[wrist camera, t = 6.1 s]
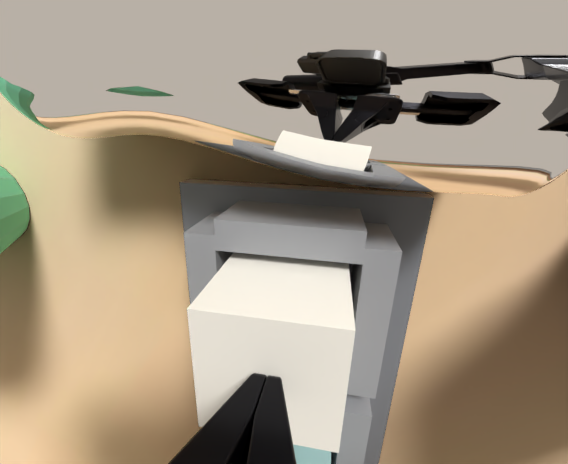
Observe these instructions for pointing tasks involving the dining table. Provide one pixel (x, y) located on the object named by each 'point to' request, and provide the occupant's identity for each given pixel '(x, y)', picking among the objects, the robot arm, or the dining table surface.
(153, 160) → the dining table surface
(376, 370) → the keypad base
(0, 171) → the mug
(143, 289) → the dining table surface
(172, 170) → the dining table surface
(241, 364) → the key ivory
